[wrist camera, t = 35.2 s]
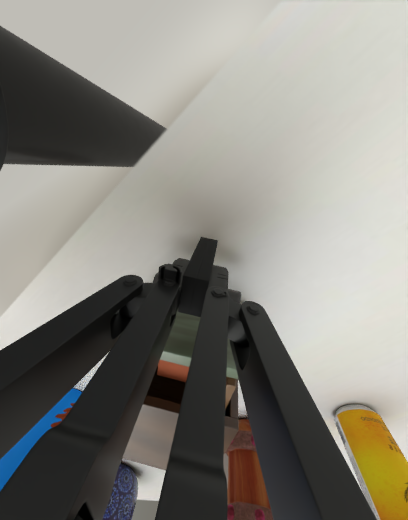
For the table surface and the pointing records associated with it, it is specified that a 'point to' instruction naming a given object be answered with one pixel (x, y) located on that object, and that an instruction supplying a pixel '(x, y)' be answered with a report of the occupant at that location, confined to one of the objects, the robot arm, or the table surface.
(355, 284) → the table surface
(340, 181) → the table surface
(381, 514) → the beer can
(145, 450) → the cabinet
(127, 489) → the planter
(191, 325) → the drawer
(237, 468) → the mug
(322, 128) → the table surface
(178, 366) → the block
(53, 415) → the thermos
